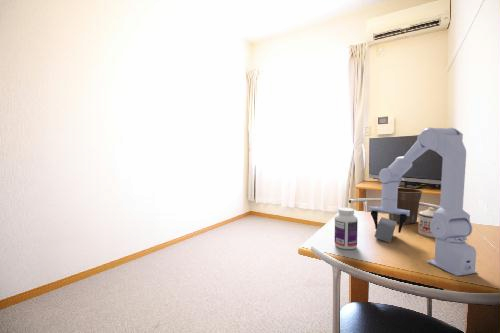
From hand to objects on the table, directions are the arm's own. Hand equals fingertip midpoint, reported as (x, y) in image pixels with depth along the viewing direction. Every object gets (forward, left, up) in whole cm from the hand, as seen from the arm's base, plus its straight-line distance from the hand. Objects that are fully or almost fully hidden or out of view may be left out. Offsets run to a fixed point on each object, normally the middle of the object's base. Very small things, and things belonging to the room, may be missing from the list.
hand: (387, 230), depth 104 cm
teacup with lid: (-3, -22, -3) cm, 22 cm away
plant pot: (+18, -27, -3) cm, 32 cm away
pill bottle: (-3, +22, -3) cm, 23 cm away
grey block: (+1, +1, -3) cm, 3 cm away
